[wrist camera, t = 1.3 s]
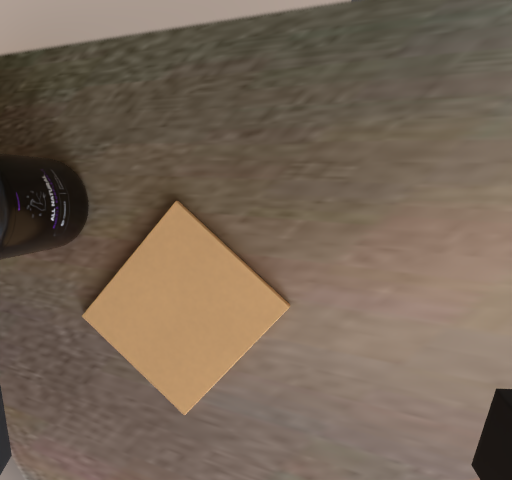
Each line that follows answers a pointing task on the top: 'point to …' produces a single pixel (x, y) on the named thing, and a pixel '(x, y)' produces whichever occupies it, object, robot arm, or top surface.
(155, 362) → the cork mat
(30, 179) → the supplement bottle
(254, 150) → the top surface
